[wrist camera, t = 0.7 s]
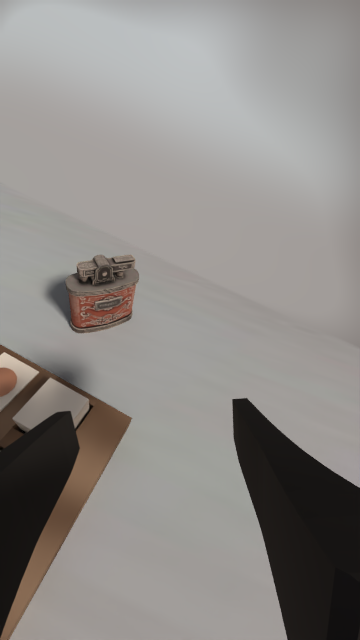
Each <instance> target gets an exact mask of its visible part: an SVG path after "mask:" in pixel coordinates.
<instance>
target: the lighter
mask: <svg viewBox="0 0 360 640" xmlns="http://www.w3.org/2000/svg"><path fill="white" fill-rule="evenodd" d="M134 266H135V258H134V257H133V256H132V255H124V256H116V257H113V258H105V256H103V255H97V256H95V257H94V258H93V259H92V260H91V261H84V262H78V263H77V273H76V274H73V275H70V276H68V278H67V279H66V288H67V291H68V292H69V300H70V309H71V320H70V323H71V328H72V330H73V331H75V332H76V333H90V332H96V331H101V330H105V329H109V328H112V327H115V326H117V325H120V324H122V323H124V322H126V321H128V320H130V319H131V317H132V304H133V299H134V293H135V287H136V284H137V283H138V280H139V273H138V272H137V270H136V269H134Z"/></svg>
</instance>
